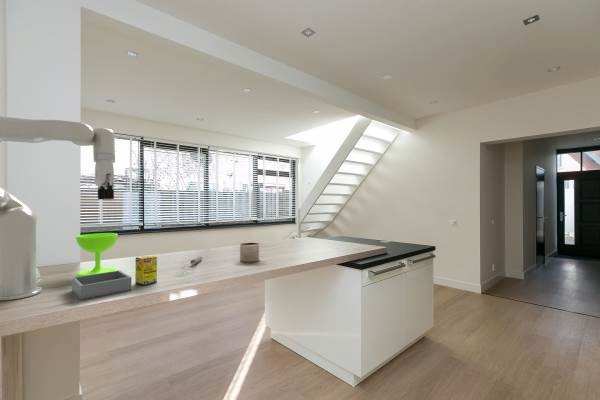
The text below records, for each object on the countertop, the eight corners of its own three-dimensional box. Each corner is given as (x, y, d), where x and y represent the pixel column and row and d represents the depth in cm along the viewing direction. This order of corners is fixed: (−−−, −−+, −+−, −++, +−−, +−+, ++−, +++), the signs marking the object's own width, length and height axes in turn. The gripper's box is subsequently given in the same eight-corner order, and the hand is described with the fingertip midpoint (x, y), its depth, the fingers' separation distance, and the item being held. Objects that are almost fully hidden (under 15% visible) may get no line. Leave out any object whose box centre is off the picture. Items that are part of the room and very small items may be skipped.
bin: (80, 300, 98) (80, 286, 98) (72, 290, 109) (72, 277, 109) (131, 290, 109) (131, 277, 109) (119, 282, 120) (119, 270, 120)
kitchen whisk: (206, 259, 166) (206, 248, 166) (190, 275, 133) (190, 261, 132) (195, 260, 165) (195, 249, 165) (176, 275, 132) (176, 262, 132)
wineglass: (109, 268, 145) (109, 232, 145) (124, 272, 136) (124, 234, 136) (70, 274, 132) (70, 235, 132) (83, 280, 123) (83, 238, 123)
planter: (263, 259, 164) (263, 243, 164) (250, 263, 155) (250, 245, 155) (248, 257, 170) (248, 241, 170) (235, 261, 161) (235, 244, 161)
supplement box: (143, 286, 114) (143, 258, 114) (135, 283, 118) (135, 257, 118) (157, 282, 119) (157, 256, 119) (149, 280, 123) (149, 254, 123)
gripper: (88, 159, 124) (89, 199, 124) (99, 155, 112) (101, 199, 113) (108, 161, 130) (109, 199, 130) (121, 157, 118) (122, 198, 118)
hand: (105, 199), depth 121 cm, fingers open, 9 cm apart
